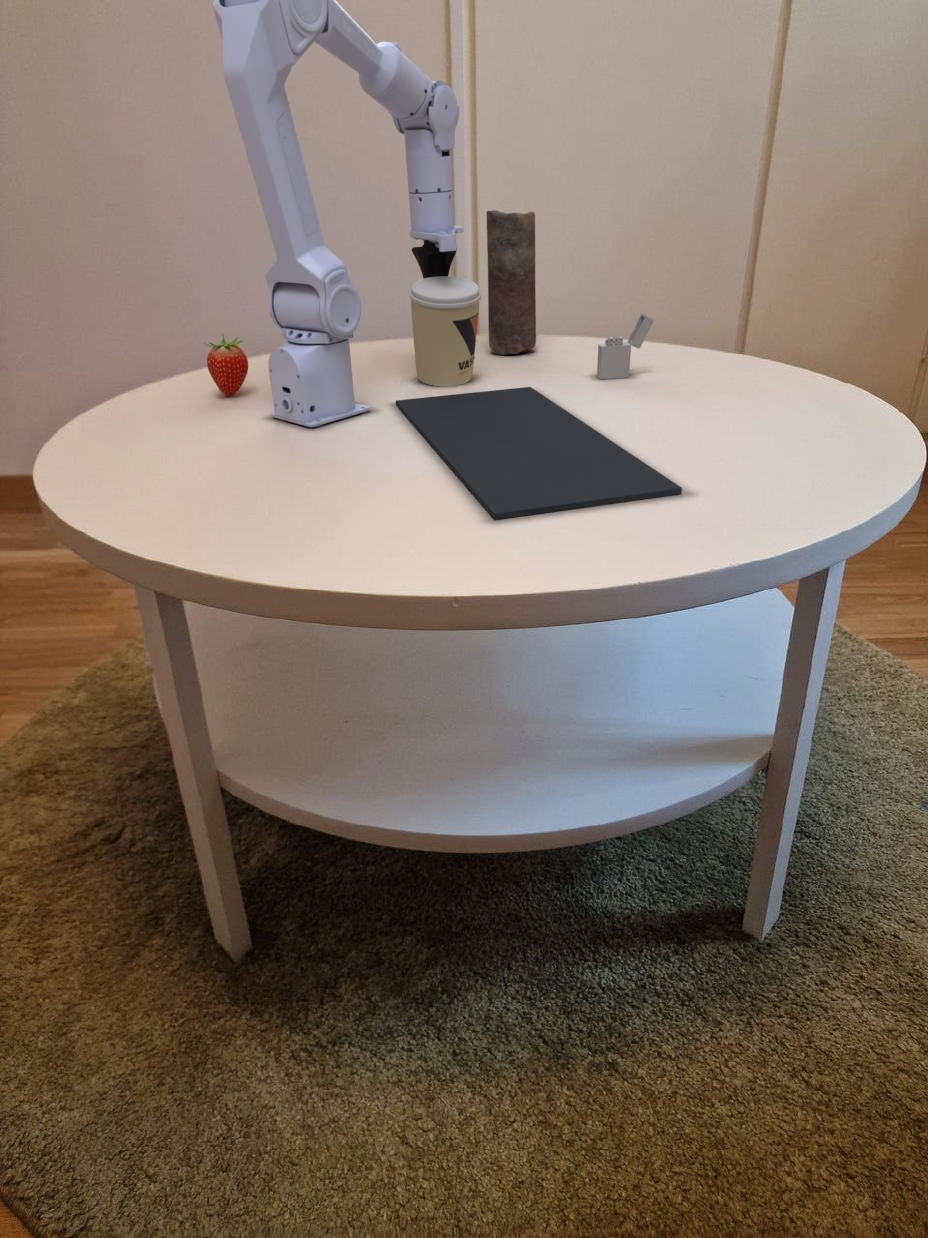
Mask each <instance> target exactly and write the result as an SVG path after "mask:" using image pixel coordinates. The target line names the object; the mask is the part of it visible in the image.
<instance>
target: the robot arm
mask: <svg viewBox="0 0 928 1238" xmlns="http://www.w3.org/2000/svg"><path fill="white" fill-rule="evenodd" d="M212 9H213V13H214V17H215V20H216V24H217V26H218V30H219V34H220V37H221V42H222V43H221V46H222V47H221V48H222V69H223V70H222V71H223V76H224V77H223V78H224V82H225V85H226V88H227V91H228V95H229V98H230V101H231V106H232V108H233V112H234V116H235V119H236V122H237V126H238V129H239V132H240V135H241V139H242V142H243V147H244V149H245V153H246V157H247V159H248V162H249V166H250V170H251V173H252V176H253V180H254V183H255V188H256V190H257V193H258V197H259V201H260V203H261V207H262V211H263V215H264V218H265V221H266V225H267V228H268V231H269V235H270V238H271V242H272V245H273V248H274V252H275V255H276V258H275V260H274V261H273V263H272V264H271V265H270V267H269V268H268V269H267V271H266V272H265V274H264V276H265V279H266V283H267V286H268V311H269V314H270V318H271V319H272V321H273V323H274V324H275V325H276V326H277V328H278V329H280V330H281V333H282V338H283V339H285V340H287V341H286V342H285V344H283V345H281V346H279V347H277V348H275V349H273V350H272V351H271V353H270V355H269V358H268V373H269V380H270V387H271V395H272V402H273V403H272V404H273V410H274V411H273V412H271V413H270V415H271V417H272V418H275V419H279V420H282V421H286V422H290V423H293V424H297V425H300V426H304V427H308V428H316V427H319V426H323V425H325V424H329V423H332V422H335V421H340V420H343V419H346V418H350V417H353V416H356V415H359V414H363V413H366V412H369V411H371V406H370V405H366V404H362V403H357V402H355V390H354V379H353V369H352V358H351V347H350V339H353V338H354V332H355V331H356V329H357V328H358V326H359V323H360V321H361V317H362V304H361V298H360V295H359V292H358V291H357V288H356V287H355V285H354V284H353V283H352V281H351V279H350V277H349V274H348V269H347V266H346V265H345V263H344V262H343V261H342V260H341V259H339V258H338V256H336V254H334V253H333V252H332V251H331V250H330V249H329V248H328V247H327V246H326V244H325V240H324V235H323V232H322V228H321V223H320V220H319V217H318V216H319V215H318V212H317V209H316V204H315V200H314V197H313V192H312V189H311V185H310V182H309V178H308V173H307V170H306V165H305V162H304V159H303V154H302V149H301V146H300V143H299V138H298V134H297V130H296V126H295V123H294V118H293V116H292V112H291V107H290V103H289V100H288V96H287V91H286V88H285V86H286V81H287V79H288V77H289V75H290V72H291V71H292V68H293V67H294V66H295V65H296V63H298V62H299V60H300V59H301V58H302V57H303V55H304V54H305V53H306V52H307V51H308V49H309V48H311V46H312V45H313V44H314V43H315V44H317V45H318V46H320V47H321V48H322V49H324V50H325V51H327V52H328V53H330V54H331V55H332V56H333V57H335V58H336V59H338V60H339V61H341V62H342V63H343V64H345V66H348V67H349V68H351V69H352V70H354V71H355V72H356V73H358V81H359V84H360V87H361V89H362V91H363V92H364V93H365V94H367V95H368V96H369V97H371V99H372V100H374V101H375V102H376V103H378V104H380V105H381V107H383V108H384V109H385V110H386V111H388V113H389V114H390V116H391V118H392V121H393V124H394V127H395V129H396V130H397V132H398V133H399V134H402V135H404V145H405V146H404V148H405V161H406V174H407V175H406V176H407V177H406V178H407V187H408V188H407V189H408V203H409V218H410V229H409V236H410V238H412V239H413V240H415V241H417V240H421V241H423V244H422V246H413V247H412V248H411V252H412V255H413V257H414V258H415V260H416V262H417V265H418V267H419V270H420V272H421V276H422V279H424V278H429V277H437V276H450V275H449V274H450V269H451V266H452V263H453V261H454V258H455V256H456V254H457V248H458V247H457V240H456V239H457V236H456V235H457V234H463V233H464V231H465V230H464V226H462V225H455V209H454V208H455V207H454V206H455V205H454V188H453V187H454V185H453V164H452V150H453V149H454V148H455V147H454V145H455V144H456V139H455V138H456V137H455V136H456V135H455V134H456V128H457V126H458V122H459V118H460V105H458V102H457V97H456V94H455V91H454V90H453V89H452V88H451V87H450V86H449V85H448V84H447V83H446V82H445V81H443V80H432V79H431V78H430V77H429V76H428V75H427V74H426V71H425V70H424V68H422V67H420V66H417V65H416V64H415V63H414V62H412V61H411V60H410V59H409V57H407V55H405V54H404V53H403V52H402V49H403V48H402V46H401V45H400V44H399V43H398V42H396V41H393V42H392V41H391V42H389V41H381V42H377V43H376V41H374V40H373V38H371V36H370V35H369V34H368V33H367V32H366V31H365V30H364V29H363V28H362V27H361V26H360V24H358V23H357V22H356V20H355V19H354V18H353V17H352V16H351V15H350V14H349V13H348V12H347V11H346V10H345V9H344V8H343V7H342V6H341V4H340V3H339V2H338V1H336V0H213V3H212Z"/></svg>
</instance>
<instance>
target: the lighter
mask: <svg viewBox="0 0 928 1238" xmlns="http://www.w3.org/2000/svg"><path fill="white" fill-rule="evenodd" d="M654 321H655V319H654V318H653V317H650V316H648V315H647V314H644V313H641V314H640V315H639V318H638V320H637V322H636V323H635V326H634V327H633V330H632V331H631V334H630V336H629V338H628V340H627V342H624V337H623V336H619V335H618V336H608V337H607V338H605V340H604V343H600V344H598V347H597V364H596V369H597V370H596V378H597V379H598V380H610V379H627V378H629V377H630V368H631V353H632V347H635V348H636V349H640V348H641V347H642V345H643V343H644V342H645V339H646V338H647V335H648V334H649V332H650V330H651V328H652V325H653V323H654Z"/></svg>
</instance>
